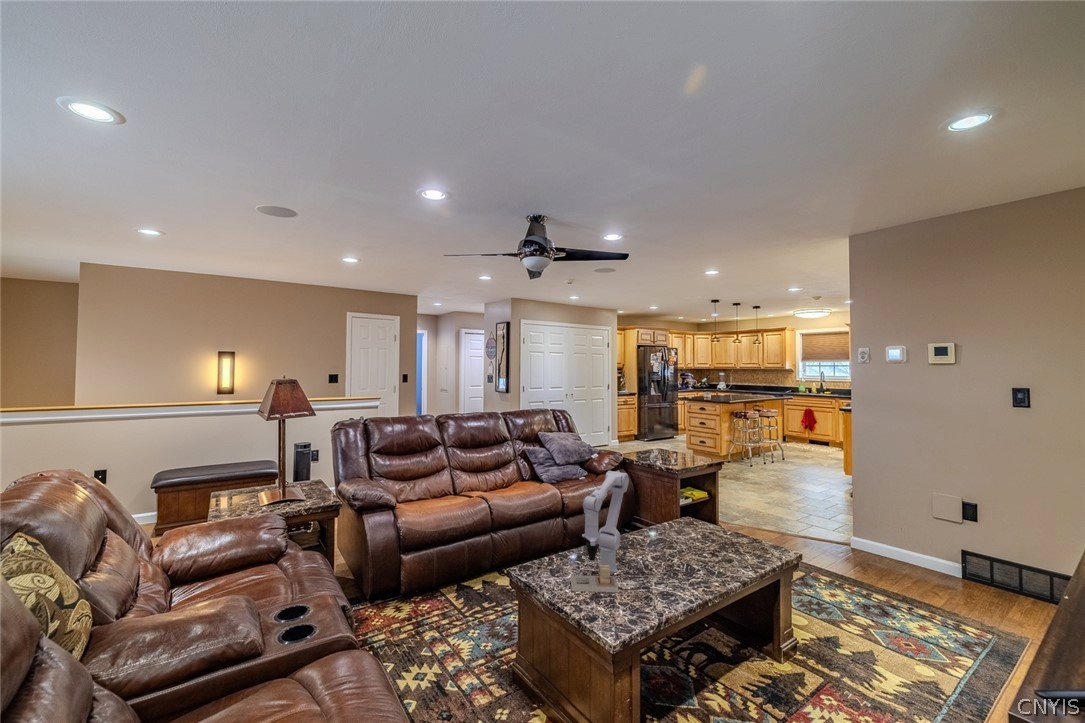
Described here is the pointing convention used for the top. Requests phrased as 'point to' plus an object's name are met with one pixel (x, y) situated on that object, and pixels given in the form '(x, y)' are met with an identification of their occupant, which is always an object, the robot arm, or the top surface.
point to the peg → (604, 574)
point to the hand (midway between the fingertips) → (591, 556)
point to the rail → (592, 584)
